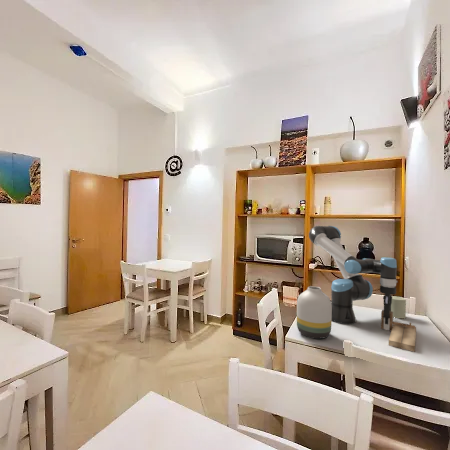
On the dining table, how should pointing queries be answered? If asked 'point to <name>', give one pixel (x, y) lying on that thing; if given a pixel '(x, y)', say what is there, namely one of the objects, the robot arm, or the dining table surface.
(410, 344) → the board
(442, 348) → the dining table surface
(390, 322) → the brown wooden block
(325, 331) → the vase
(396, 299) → the can
